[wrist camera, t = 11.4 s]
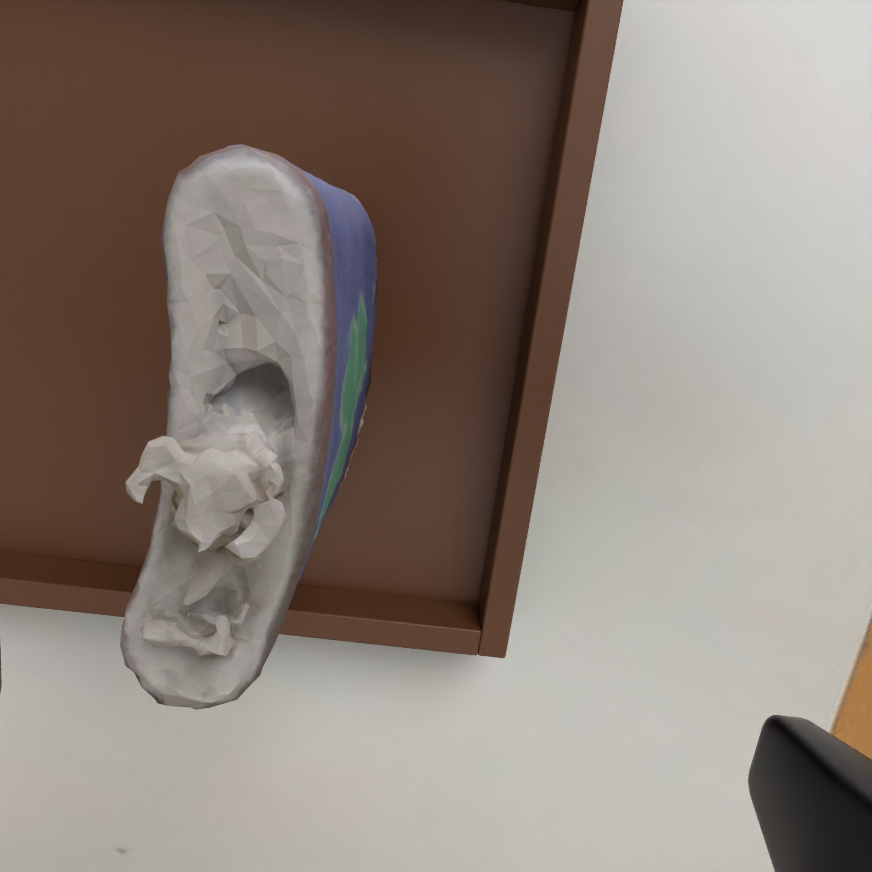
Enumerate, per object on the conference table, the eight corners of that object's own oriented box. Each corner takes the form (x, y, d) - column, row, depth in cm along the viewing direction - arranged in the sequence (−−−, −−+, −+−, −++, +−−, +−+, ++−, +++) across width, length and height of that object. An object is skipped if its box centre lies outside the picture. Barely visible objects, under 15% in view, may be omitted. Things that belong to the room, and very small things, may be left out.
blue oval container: (288, 178, 18) (101, 97, 8) (402, 202, 18) (373, 154, 8) (244, 512, 20) (57, 796, 10) (345, 529, 20) (264, 826, 10)
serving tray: (607, -12, 17) (631, -45, 15) (498, 620, 22) (505, 659, 20) (-394, -168, 16) (-511, -227, 14) (-287, 533, 21) (-364, 564, 19)
